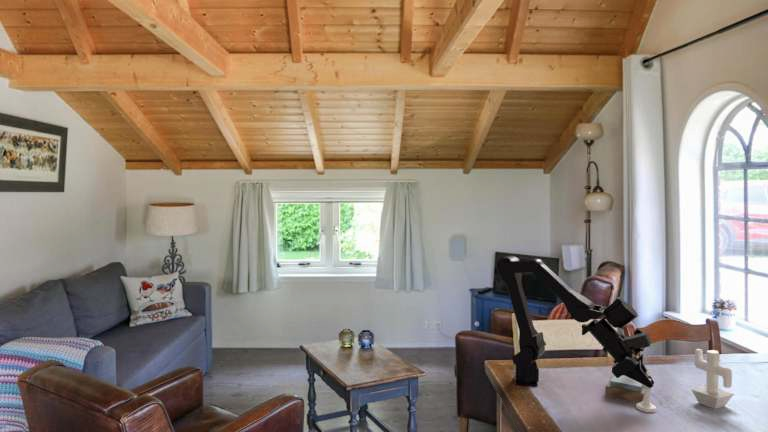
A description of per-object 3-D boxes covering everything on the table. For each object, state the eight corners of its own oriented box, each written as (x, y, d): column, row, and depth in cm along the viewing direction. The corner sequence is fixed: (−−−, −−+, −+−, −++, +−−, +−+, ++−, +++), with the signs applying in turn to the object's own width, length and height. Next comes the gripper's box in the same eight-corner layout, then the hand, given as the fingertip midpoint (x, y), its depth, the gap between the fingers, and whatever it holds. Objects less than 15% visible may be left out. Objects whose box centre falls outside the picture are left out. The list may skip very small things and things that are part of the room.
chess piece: (659, 413, 129) (660, 375, 129) (639, 411, 130) (640, 374, 130) (652, 405, 134) (653, 369, 134) (633, 404, 135) (634, 368, 135)
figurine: (721, 413, 129) (723, 357, 129) (686, 400, 138) (687, 347, 137) (737, 408, 132) (739, 354, 132) (702, 396, 141) (704, 344, 140)
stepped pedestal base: (605, 396, 140) (605, 381, 140) (611, 385, 148) (611, 371, 148) (644, 404, 134) (644, 388, 134) (648, 393, 143) (649, 378, 142)
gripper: (626, 328, 126) (675, 379, 120) (636, 314, 141) (680, 359, 135) (593, 352, 131) (638, 403, 125) (606, 337, 146) (647, 381, 140)
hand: (652, 385), depth 131 cm, fingers closed on chess piece
